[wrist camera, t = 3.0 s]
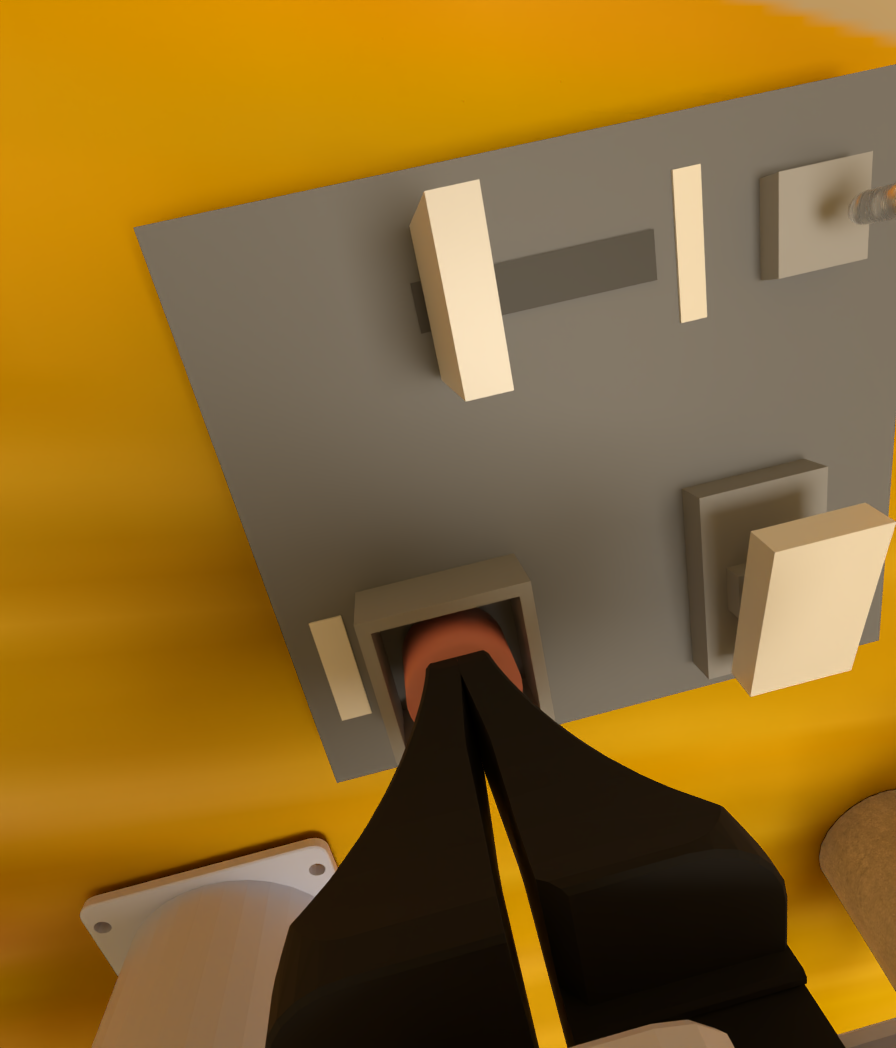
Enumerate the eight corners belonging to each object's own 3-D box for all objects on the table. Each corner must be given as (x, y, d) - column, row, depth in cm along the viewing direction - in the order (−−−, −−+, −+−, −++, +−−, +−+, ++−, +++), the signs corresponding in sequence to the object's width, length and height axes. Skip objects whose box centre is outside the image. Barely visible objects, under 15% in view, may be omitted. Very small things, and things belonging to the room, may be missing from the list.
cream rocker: (827, 646, 15) (850, 670, 14) (731, 671, 15) (750, 696, 14) (865, 502, 12) (895, 522, 12) (750, 531, 12) (774, 552, 11)
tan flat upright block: (477, 372, 12) (514, 390, 9) (441, 380, 12) (465, 401, 9) (449, 217, 11) (479, 179, 8) (409, 226, 11) (423, 191, 8)
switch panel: (827, 607, 18) (929, 672, 15) (340, 733, 18) (333, 831, 14) (845, 94, 13) (1004, 20, 10) (167, 240, 13) (95, 213, 9)
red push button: (512, 680, 15) (530, 726, 13) (415, 705, 15) (421, 755, 13) (495, 593, 14) (512, 630, 12) (390, 618, 14) (393, 660, 12)
